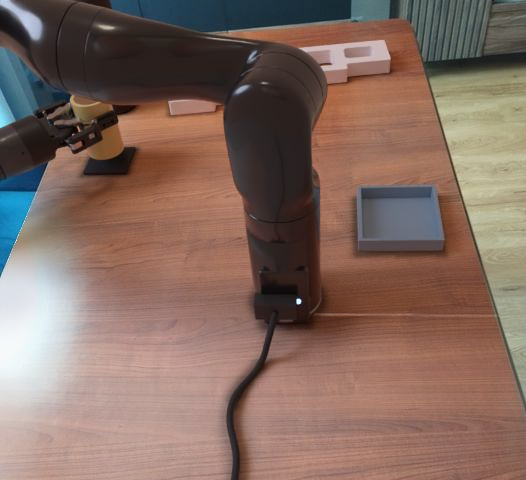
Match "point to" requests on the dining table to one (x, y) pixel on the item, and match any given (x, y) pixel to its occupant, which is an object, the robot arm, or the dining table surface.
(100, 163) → the coaster
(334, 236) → the dining table surface
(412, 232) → the tray
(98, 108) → the cup
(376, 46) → the holder
